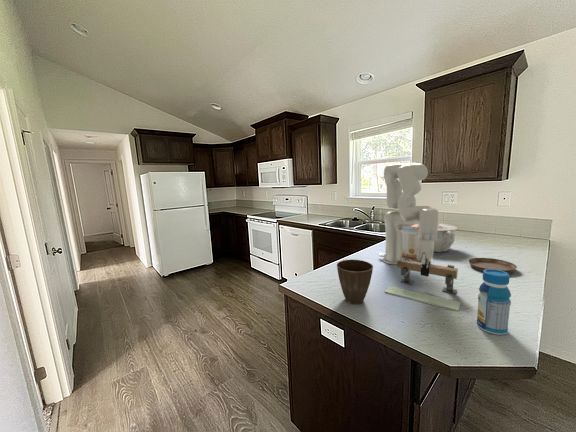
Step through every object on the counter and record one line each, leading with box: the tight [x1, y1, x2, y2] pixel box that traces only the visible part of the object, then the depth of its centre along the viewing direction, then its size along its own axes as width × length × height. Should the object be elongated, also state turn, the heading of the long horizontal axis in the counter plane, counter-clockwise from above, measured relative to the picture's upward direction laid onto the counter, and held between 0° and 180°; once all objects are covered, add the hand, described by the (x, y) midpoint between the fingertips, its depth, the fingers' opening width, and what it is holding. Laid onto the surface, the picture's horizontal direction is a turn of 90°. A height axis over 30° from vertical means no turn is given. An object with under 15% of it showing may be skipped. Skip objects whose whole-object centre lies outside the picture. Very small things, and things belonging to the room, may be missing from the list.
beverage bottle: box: [476, 269, 512, 336], centre depth 83 cm, size 8×8×20 cm
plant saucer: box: [468, 257, 518, 274], centre depth 136 cm, size 21×21×3 cm
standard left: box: [400, 257, 414, 285], centre depth 121 cm, size 5×9×12 cm, turn 140°
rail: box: [396, 258, 459, 280], centre depth 114 cm, size 24×4×4 cm, turn 50°
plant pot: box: [336, 259, 374, 305], centre depth 106 cm, size 15×15×16 cm
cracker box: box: [398, 225, 420, 260], centre depth 162 cm, size 14×6×21 cm, turn 39°
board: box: [384, 285, 461, 312], centre depth 107 cm, size 28×7×1 cm, turn 50°
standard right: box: [442, 264, 458, 295], centre depth 109 cm, size 5×9×12 cm, turn 140°
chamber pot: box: [414, 222, 459, 253], centre depth 173 cm, size 28×28×21 cm
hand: (425, 273), depth 114 cm, fingers closed on rail, 3 cm apart
